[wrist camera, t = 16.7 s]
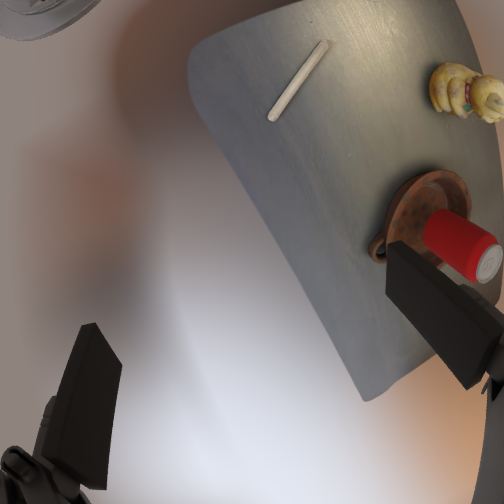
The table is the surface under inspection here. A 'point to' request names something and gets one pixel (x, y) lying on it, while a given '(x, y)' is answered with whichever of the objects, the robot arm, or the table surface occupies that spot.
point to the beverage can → (463, 245)
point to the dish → (421, 212)
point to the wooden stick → (298, 80)
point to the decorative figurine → (466, 93)
